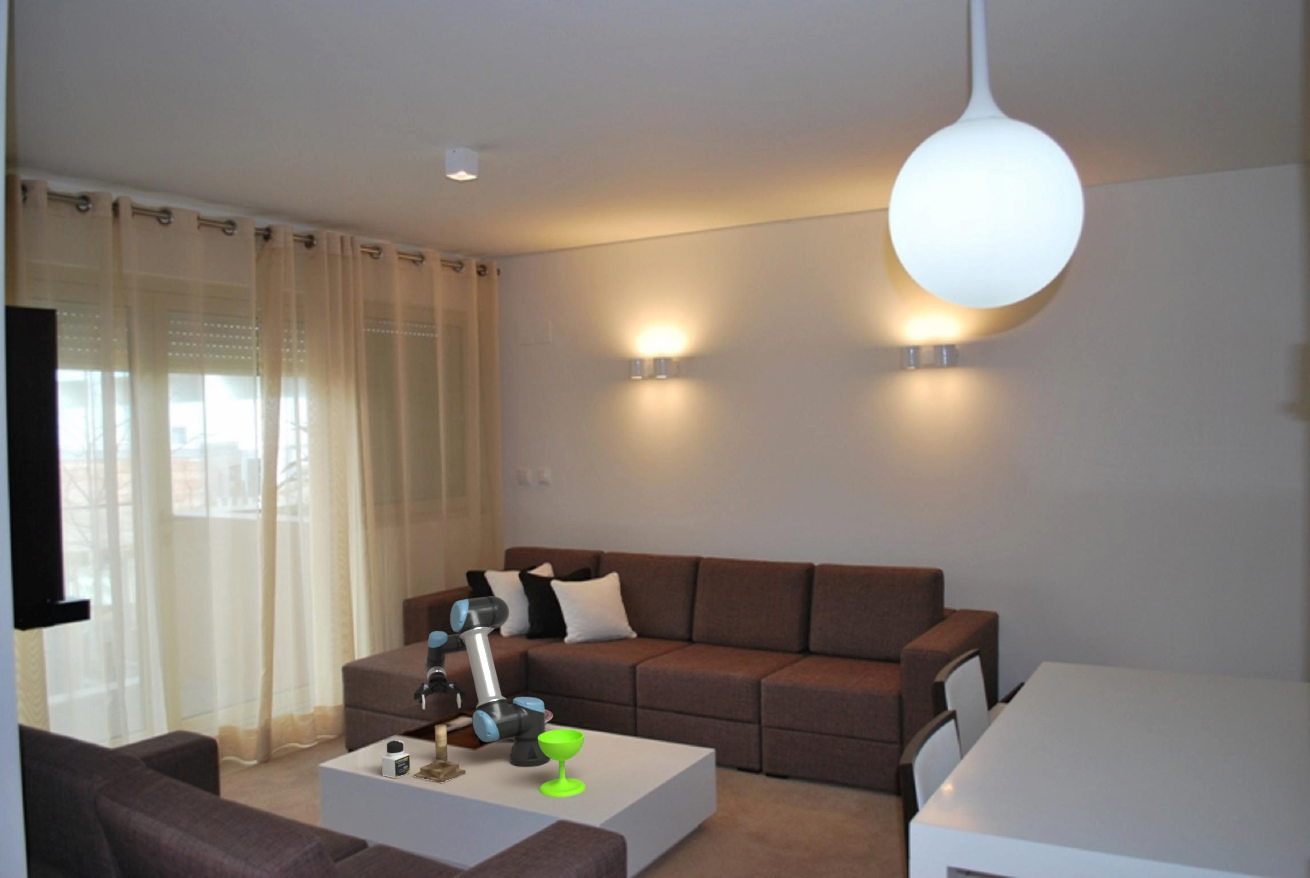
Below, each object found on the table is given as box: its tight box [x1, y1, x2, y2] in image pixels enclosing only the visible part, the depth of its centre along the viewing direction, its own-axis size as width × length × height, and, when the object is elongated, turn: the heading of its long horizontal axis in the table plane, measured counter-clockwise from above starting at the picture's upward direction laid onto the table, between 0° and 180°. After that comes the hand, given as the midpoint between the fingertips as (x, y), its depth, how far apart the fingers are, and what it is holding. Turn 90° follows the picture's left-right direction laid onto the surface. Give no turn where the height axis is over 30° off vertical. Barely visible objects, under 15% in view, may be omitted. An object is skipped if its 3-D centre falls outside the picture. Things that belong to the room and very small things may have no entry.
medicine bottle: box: [381, 739, 411, 779], centre depth 351 cm, size 7×7×12 cm
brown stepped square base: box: [413, 760, 467, 783], centre depth 349 cm, size 14×12×3 cm
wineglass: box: [538, 728, 587, 798], centre depth 332 cm, size 16×16×18 cm
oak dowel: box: [434, 723, 448, 762], centre depth 362 cm, size 4×4×14 cm
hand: (441, 705), depth 372 cm, fingers open, 13 cm apart
